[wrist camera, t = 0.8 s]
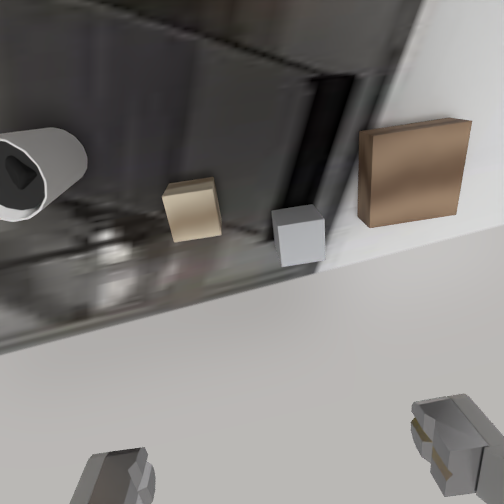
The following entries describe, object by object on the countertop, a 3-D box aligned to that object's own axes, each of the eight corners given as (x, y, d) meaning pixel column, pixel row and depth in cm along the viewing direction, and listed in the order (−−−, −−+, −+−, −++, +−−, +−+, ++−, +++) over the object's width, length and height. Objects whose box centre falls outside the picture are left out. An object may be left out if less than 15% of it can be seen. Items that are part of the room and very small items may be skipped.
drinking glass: (47, 107, 32) (-20, 114, 23) (105, 157, 34) (65, 182, 25) (10, 155, 33) (-67, 180, 24) (68, 200, 36) (18, 237, 27)
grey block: (271, 210, 39) (277, 226, 34) (312, 204, 39) (324, 218, 34) (275, 247, 41) (281, 267, 36) (314, 241, 41) (325, 260, 37)
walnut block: (358, 130, 36) (373, 135, 32) (447, 117, 36) (472, 120, 32) (356, 215, 40) (369, 228, 37) (435, 203, 40) (456, 214, 37)
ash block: (169, 183, 36) (161, 196, 32) (213, 176, 36) (212, 188, 32) (179, 224, 38) (174, 242, 34) (221, 218, 38) (221, 235, 34)
